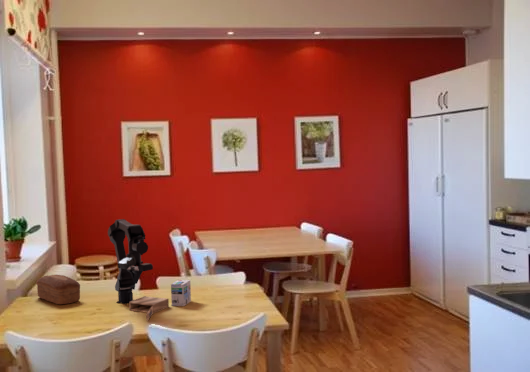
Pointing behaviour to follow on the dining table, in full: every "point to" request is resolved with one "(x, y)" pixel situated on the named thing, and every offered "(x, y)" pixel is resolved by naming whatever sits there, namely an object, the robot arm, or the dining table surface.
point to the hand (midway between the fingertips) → (135, 283)
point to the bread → (58, 289)
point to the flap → (149, 313)
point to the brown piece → (148, 304)
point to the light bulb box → (180, 292)
